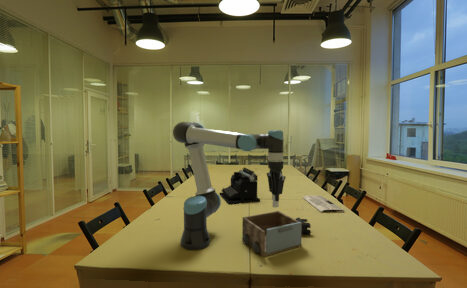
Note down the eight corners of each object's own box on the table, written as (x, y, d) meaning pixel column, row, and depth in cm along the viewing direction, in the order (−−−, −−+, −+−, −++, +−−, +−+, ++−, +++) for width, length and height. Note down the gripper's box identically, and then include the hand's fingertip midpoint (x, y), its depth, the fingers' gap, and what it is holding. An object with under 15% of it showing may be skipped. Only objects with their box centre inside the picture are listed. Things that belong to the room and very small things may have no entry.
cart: (240, 239, 123) (240, 217, 123) (279, 230, 135) (279, 210, 134) (260, 257, 106) (260, 232, 105) (303, 245, 117) (303, 222, 117)
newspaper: (344, 212, 166) (344, 209, 166) (318, 213, 165) (318, 209, 165) (321, 198, 203) (321, 195, 202) (300, 198, 201) (300, 195, 201)
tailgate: (266, 252, 107) (266, 229, 106) (299, 243, 116) (299, 221, 115) (268, 254, 105) (268, 230, 104) (301, 244, 114) (302, 223, 113)
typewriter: (219, 194, 212) (219, 168, 211) (246, 192, 220) (246, 166, 219) (228, 204, 182) (228, 173, 181) (260, 201, 191) (260, 172, 189)
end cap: (294, 228, 139) (294, 217, 138) (305, 228, 138) (306, 217, 138) (297, 235, 129) (298, 223, 128) (310, 235, 128) (310, 224, 128)
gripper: (290, 161, 111) (289, 209, 112) (274, 159, 123) (273, 202, 124) (277, 162, 108) (277, 211, 109) (262, 159, 119) (262, 204, 121)
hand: (275, 206), depth 116 cm, fingers closed
